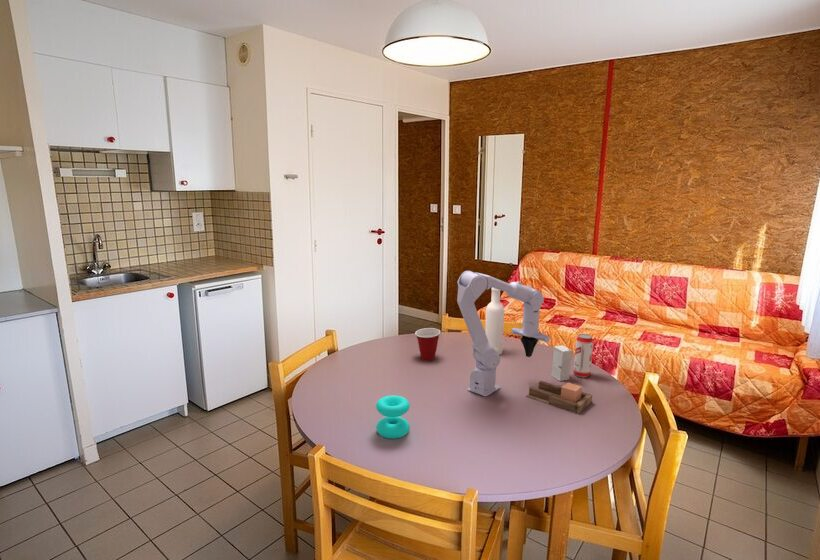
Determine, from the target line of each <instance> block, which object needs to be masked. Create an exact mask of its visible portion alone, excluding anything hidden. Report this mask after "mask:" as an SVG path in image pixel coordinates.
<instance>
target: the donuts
mask: <svg viewBox="0 0 820 560" xmlns="http://www.w3.org/2000/svg"><path fill="white" fill-rule="evenodd" d="M375 408H376V411H377V412H378V414H380V415H382V416H384V417H382V418H381V419H379V421H377V423H376V429H375V430H376V432H377V434H378V435H380V436H381V437H383V438H386V439H400V438H402V437H404V436H406V435H407V434H408V433H409V432H410V423H409V421H407V419H405V418H404V417H403V416H404V415H405V414H406V413H408V412H409V411H410V410H409V409H410V402H409V401H408V399H407V398H405V397H404V396H400V395H396V394H395V395H394V394H391V395H386V396H385V395H384V396H383V397H381V398H379V399H378V400H377V401H376V403H375Z"/></svg>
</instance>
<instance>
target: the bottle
mask: <svg viewBox="0 0 820 560" xmlns="http://www.w3.org/2000/svg"><path fill="white" fill-rule="evenodd" d="M490 289H491V299H490V300H491V301H490V302H489V303H488V304H487V306H486V307H485V324H484V325H485V326H484V328H485V329H484V331H485V333H486V336H487V339H488V341H489V343H490V344H491V345H492V346H493V348H494V350H495V352H496V353H498V354H499V356H500V355H502V354H503V349H504V347H503V345H504V343H503V342H504V328H505V327H504V326H505V325H504V324H505V308H504V304H502V303H501V290H499V289H496V288H493V287H491V288H490Z"/></svg>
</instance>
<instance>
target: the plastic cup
mask: <svg viewBox="0 0 820 560" xmlns="http://www.w3.org/2000/svg"><path fill="white" fill-rule="evenodd" d="M414 335H415V337H416V339H417V343H418V349H419V353H420V358H421V360H423V361H428V360H429V361H433V360H435V358H436V352H437V348H438V343H439V337H440V335H441V330H440V329H438V328H434V327H424V328H420V329H417V330H416V331H415V333H414Z"/></svg>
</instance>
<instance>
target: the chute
mask: <svg viewBox="0 0 820 560" xmlns="http://www.w3.org/2000/svg"><path fill="white" fill-rule="evenodd" d="M561 387H562V386H558V385H555V384H551V383H548V382H546V381H542V380H540V381H538V387H533V386H532V387H529V389H528V393H527V394H526V395H525V397H526V398H529V399H532V400H535V401H539V402H541V403H544V404H547V405H551V406H552V407H553V406H554V407H556V408H560V409H562V410H565V411H569V412H571V413H574V412H575V413H574V414H576V415H579V414H581V412H583V411H584V410H585V409H586V408H588V406H590V405H591V404H592V402H593V394H591V393H587V392H584V391H582V392H581V400H580V401H579V402H578V403H574V402H571V401H568V400H565V399H562V398H561Z"/></svg>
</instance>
